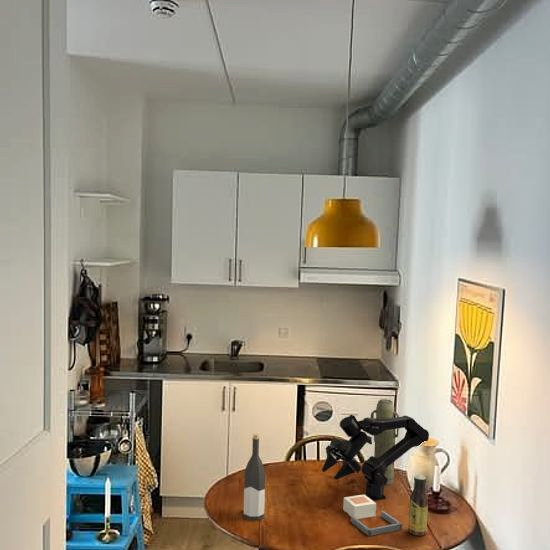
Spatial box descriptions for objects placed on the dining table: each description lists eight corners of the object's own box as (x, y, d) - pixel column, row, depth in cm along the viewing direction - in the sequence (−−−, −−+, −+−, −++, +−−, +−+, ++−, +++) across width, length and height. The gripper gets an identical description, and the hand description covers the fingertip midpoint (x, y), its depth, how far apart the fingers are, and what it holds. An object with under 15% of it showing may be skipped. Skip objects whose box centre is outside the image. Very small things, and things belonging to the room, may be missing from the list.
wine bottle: (267, 513, 214) (270, 433, 213) (260, 522, 206) (262, 439, 205) (247, 509, 216) (249, 430, 215) (239, 518, 209) (241, 436, 208)
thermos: (369, 476, 253) (371, 397, 252) (396, 479, 250) (399, 399, 249) (367, 484, 244) (370, 401, 243) (396, 487, 242) (399, 404, 241)
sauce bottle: (405, 528, 205) (407, 472, 204) (422, 528, 205) (425, 472, 205) (411, 537, 198) (413, 480, 198) (429, 537, 199) (431, 480, 198)
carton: (363, 507, 222) (364, 494, 222) (375, 516, 214) (376, 503, 214) (343, 510, 218) (343, 497, 218) (354, 520, 211) (354, 506, 210)
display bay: (383, 515, 214) (383, 510, 214) (402, 529, 204) (402, 523, 204) (350, 521, 209) (350, 516, 208) (368, 536, 198) (368, 530, 198)
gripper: (331, 424, 232) (305, 453, 228) (356, 437, 216) (328, 468, 211) (346, 443, 236) (321, 472, 231) (372, 457, 219) (345, 488, 214)
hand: (328, 475), depth 221 cm, fingers open, 9 cm apart
